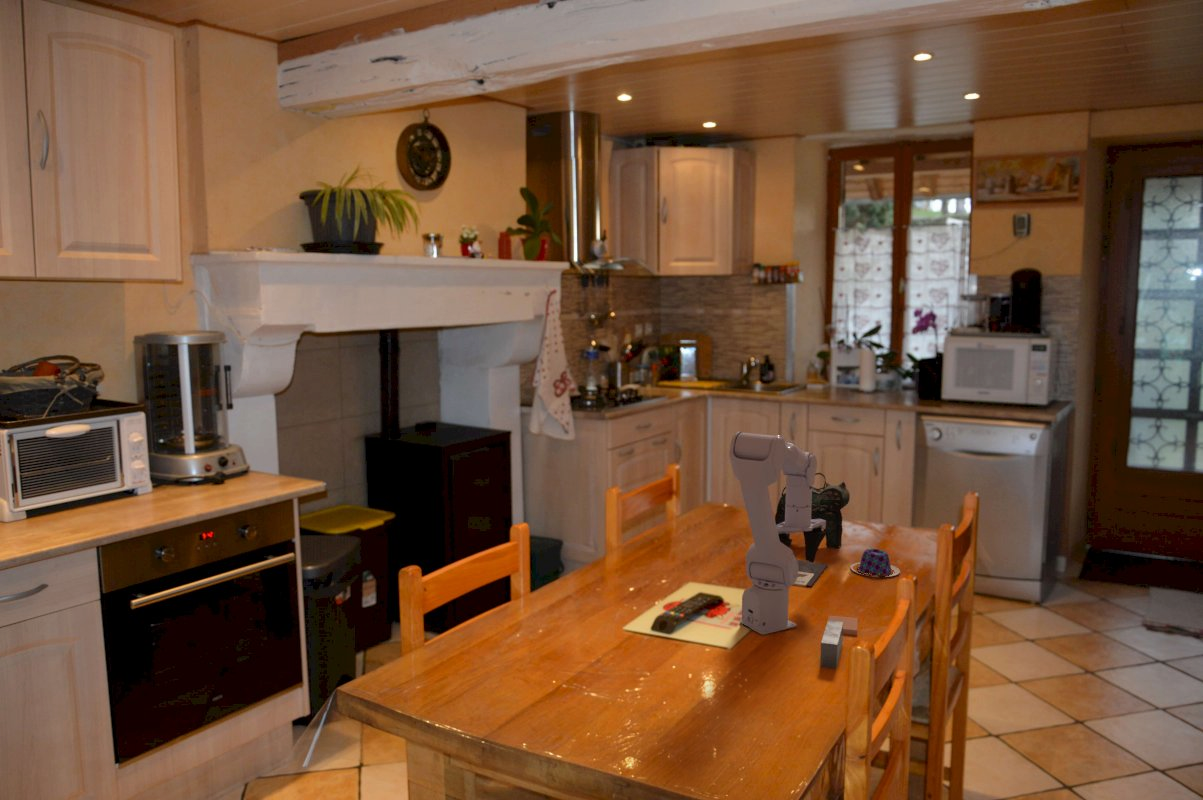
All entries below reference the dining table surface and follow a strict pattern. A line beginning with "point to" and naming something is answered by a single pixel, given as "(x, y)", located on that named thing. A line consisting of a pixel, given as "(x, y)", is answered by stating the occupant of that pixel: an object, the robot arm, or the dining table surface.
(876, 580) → the dining table surface
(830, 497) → the ceramic cat
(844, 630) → the tile
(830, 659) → the tall grey plank
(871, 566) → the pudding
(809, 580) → the chocolate bar
